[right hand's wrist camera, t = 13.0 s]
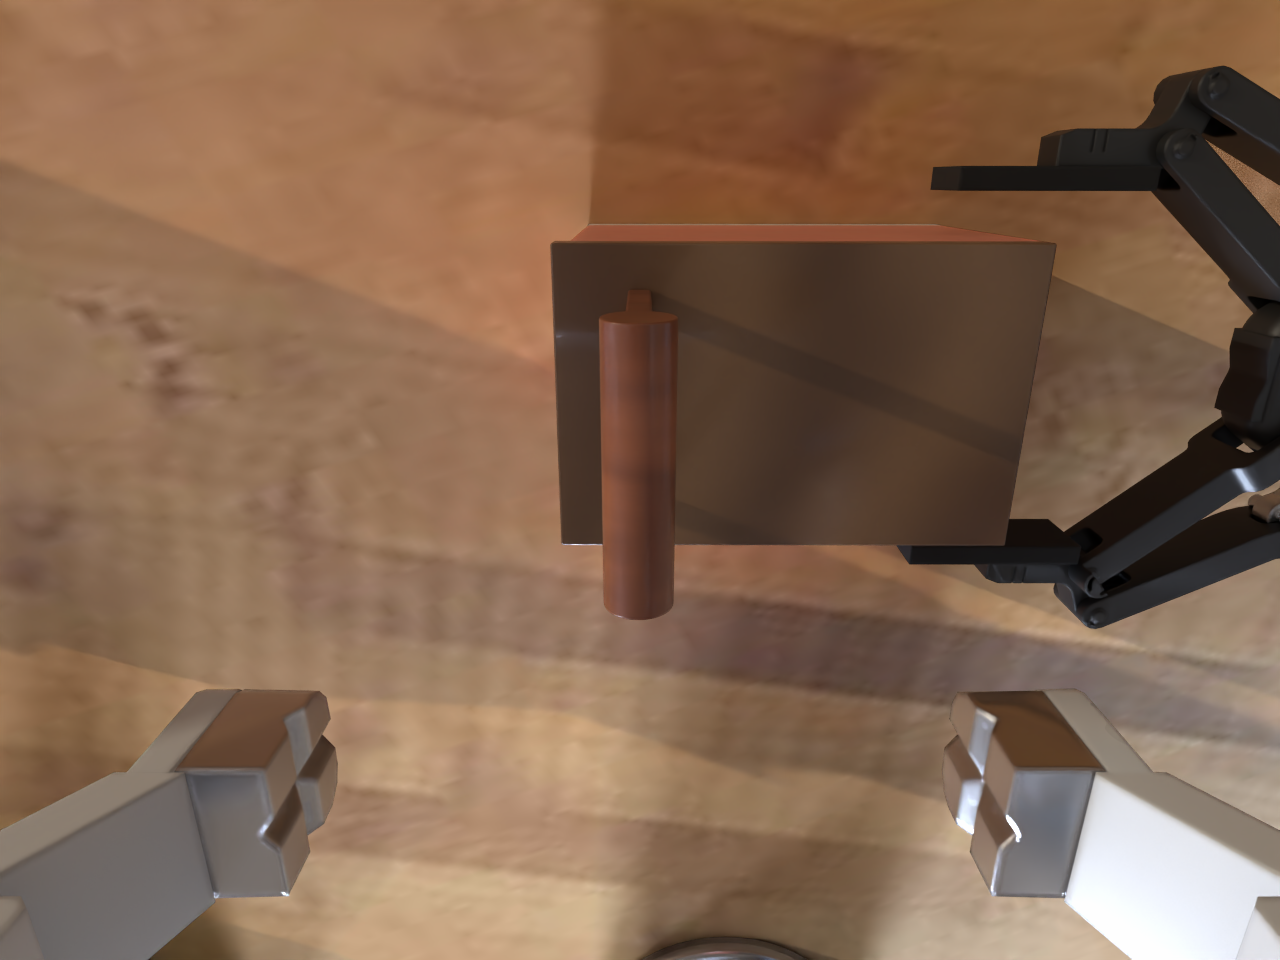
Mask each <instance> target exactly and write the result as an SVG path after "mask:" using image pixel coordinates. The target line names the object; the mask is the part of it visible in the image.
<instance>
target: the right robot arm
mask: <svg viewBox="0 0 1280 960" xmlns="http://www.w3.org/2000/svg"><path fill="white" fill-rule="evenodd" d="M330 719H331V718H330V713H329V708H328V703H327V698H326V696H324V695H323V694H322V693H321V692H320V691H298V690H251V689H245V690H240V689H206V690H203V691H200V692H197V693H195V694H194V696H193V697H192V698H191V699H190V700H189V701H188V702H187V704H186V705H185V706H184V707H183V708H182V709H181V710H180V712H179V713H178V714H177V715H176V716H175V717H174V718H173V720H172V721H171V722H170V723H169V724H168V725H167V726H166V728H165V729H164V730H163V731H162V732H161V733H160V734H159V736H158V737H157V738H156V739H155V740H154V741H153V742H152V744H151V745H150V746H149V747H148V748H147V749H146V750H145V752H144V753H143V754H142V755H141V756H140V757H139V758H138V760H137V761H136V762H135V763H134V764H133V765H132V766H131V768H130V769H129V770H128V771H127V772H113V773H112V774H110V775H108V776H106V777H104V778H102V779H100V780H98V781H96V782H94V783H92V784H90V785H88V786H86V787H84V788H82V789H80V790H78V791H76V792H74V793H72V794H70V795H68V796H67V797H65V798H63V799H61V800H59V801H57V802H55V803H53V804H51V805H49V806H47V807H45V808H43V809H41V810H39V811H37V812H35V813H33V814H31V815H29V816H27V817H25V818H24V819H22V820H20V821H18V822H16V823H14V824H12V825H10V826H8V827H6V828H4V829H2V830H0V960H148V959H149V958H150V957H152V956H153V955H154V954H155V953H156V952H157V951H159V950H160V949H161V948H162V947H163V946H164V945H166V944H167V943H168V942H169V941H170V940H172V939H173V938H174V937H175V936H176V935H177V934H179V933H180V932H181V931H182V930H183V929H184V928H186V927H187V926H188V925H189V924H190V923H192V922H193V921H194V920H195V919H196V918H197V917H199V916H200V915H201V914H202V913H203V912H204V911H206V910H207V909H208V908H209V907H210V906H211V905H213V904H214V903H215V898H238V897H272V896H288V895H289V893H290V891H291V889H292V887H293V885H294V883H295V881H296V879H297V877H298V875H299V873H300V871H301V869H302V867H303V865H304V863H305V861H306V859H307V857H308V855H309V853H310V847H309V842H308V836H307V835H309V834H310V833H312V832H313V831H314V830H316V829H317V828H319V827H320V826H321V825H323V824H324V822H325V820H326V818H327V816H328V814H329V812H330V809H331V807H332V805H333V800H334V796H335V791H336V787H337V776H338V763H337V756H336V749H335V747H334V746H333V745H332V744H331V743H330V742H329V741H328V740H327V739H326V738H325V737H324V736H323V735H322V734H323V732H324V730H325V728H326V726H327V725H328V723H329V721H330ZM949 719H950V721H951V723H952V725H953V726H954V728H955V730H956V732H957V734H958V735H957V736H956V737H955V738H954V739H953V740H952V741H951V742H950V743H949V744H948V745H947V746H946V747H945V749H944V757H943V765H942V775H943V786H944V793H945V797H946V800H947V804H948V807H949V810H950V812H951V814H952V816H953V818H954V820H955V822H956V824H957V825H959V826H960V827H961V828H963V829H964V830H966V831H967V832H968V833H970V834H971V835H973V836H972V842H971V847H970V853H971V855H972V857H973V859H974V861H975V863H976V865H977V867H978V869H979V871H980V873H981V875H982V877H983V879H984V881H985V883H986V885H987V887H988V889H989V891H990V893H991V895H992V896H1006V897H1041V898H1065V901H1064V902H1065V903H1067V904H1068V905H1069V906H1070V907H1071V908H1072V909H1074V910H1075V911H1076V912H1077V913H1078V914H1079V915H1081V916H1082V917H1083V918H1084V919H1085V920H1087V921H1088V922H1089V923H1090V924H1091V925H1092V926H1094V927H1095V928H1096V929H1097V930H1098V931H1099V932H1101V933H1102V934H1103V935H1104V936H1105V937H1106V938H1108V939H1109V940H1110V941H1111V942H1112V943H1113V944H1115V945H1116V946H1117V947H1118V948H1119V949H1121V950H1122V951H1123V952H1124V953H1125V954H1126V955H1128V956H1129V957H1130V958H1131V959H1132V960H1280V830H1278V829H1276V828H1274V827H1272V826H1270V825H1268V824H1266V823H1264V822H1262V821H1260V820H1258V819H1256V818H1254V817H1252V816H1250V815H1248V814H1247V813H1245V812H1243V811H1241V810H1239V809H1237V808H1235V807H1233V806H1231V805H1229V804H1227V803H1225V802H1223V801H1221V800H1219V799H1217V798H1215V797H1213V796H1211V795H1209V794H1208V793H1206V792H1204V791H1202V790H1200V789H1198V788H1196V787H1194V786H1192V785H1190V784H1188V783H1186V782H1184V781H1182V780H1180V779H1178V778H1176V777H1174V776H1172V775H1170V774H1169V773H1167V772H1153V771H1152V770H1151V769H1150V768H1149V766H1148V765H1147V764H1146V763H1145V762H1144V761H1143V760H1142V758H1141V757H1140V756H1139V755H1138V754H1137V753H1136V752H1135V750H1134V749H1133V748H1132V747H1131V746H1130V745H1129V744H1128V742H1127V741H1126V740H1125V739H1124V738H1123V737H1122V736H1121V734H1120V733H1119V732H1118V731H1117V730H1116V729H1115V728H1114V726H1113V725H1112V724H1111V723H1110V722H1109V721H1108V720H1107V718H1106V717H1105V716H1104V715H1103V714H1102V713H1101V712H1100V710H1099V709H1098V708H1097V707H1096V706H1095V705H1094V704H1093V702H1092V701H1091V700H1090V699H1089V698H1088V697H1087V696H1086V694H1084V693H1083V692H1081V691H1079V690H1077V689H1050V690H1035V691H990V692H957V694H956V696H955V698H954V700H953V702H952V706H951V712H950V718H949Z"/></svg>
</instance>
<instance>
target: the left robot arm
mask: <svg viewBox="0 0 1280 960" xmlns="http://www.w3.org/2000/svg"><path fill="white" fill-rule="evenodd" d="M1153 101H1154V104H1155V106H1154V108H1153V109H1152V111H1151V113H1150V115H1149V116H1148V118H1147V119H1146V121H1145V122H1144V123H1143V124H1142V125H1140V126H1139V127H1137V128H1135V129H1070V130H1061V131H1056V132H1053V133H1051V134H1048V135H1046V136H1043V137H1041V143H1040V149H1039V156H1038V162H1037V166H951V167H933V173H932V182H931V190H956V191H1151V192H1152V193H1153V194H1154V195H1155V196H1156V197H1157V198H1158V200H1159V201H1160V202H1161V203H1162V204H1163V205H1164V206H1165V207H1166V208H1167V209H1168V211H1169V212H1170V213H1171V214H1172V215H1173V216H1174V217H1175V218H1176V219H1177V221H1178V222H1179V223H1180V224H1181V225H1182V226H1183V227H1184V228H1185V229H1186V231H1187V232H1188V233H1189V234H1190V235H1191V236H1192V237H1193V238H1194V239H1195V241H1196V242H1197V243H1198V244H1199V245H1200V246H1201V247H1202V248H1203V249H1204V251H1205V252H1206V253H1207V254H1208V255H1209V256H1210V257H1211V258H1212V259H1213V261H1214V262H1215V263H1216V264H1217V265H1218V266H1219V267H1220V268H1221V269H1222V270H1223V272H1224V273H1225V274H1226V275H1227V276H1228V277H1229V279H1230V281H1229V282H1228V285H1229V286H1230V288H1231V289H1232V290H1233V291H1234V292H1235V293H1236V294H1237V296H1238V297H1239V298H1240V299H1241V300H1242V301H1243V302H1244V303H1245V304H1246V306H1247V307H1248V308H1249V309H1250V310H1251V311H1252V312H1253V313H1254V314H1253V315H1251V317H1250V318H1249V319H1248V320H1247V321H1246V323H1245V324H1244V326H1243V328H1235V329H1234V333H1233V337H1232V341H1231V345H1230V369H1229V371H1228V373H1227V375H1226V377H1225V379H1224V381H1223V382H1222V384H1221V386H1220V388H1219V391H1218V395H1217V399H1216V403H1215V407H1214V408H1217V409H1219V410H1221V414H1222V417H1221V418H1220V419H1218V420H1217V421H1215V422H1214V423H1212V424H1211V425H1209V426H1208V427H1206V428H1205V429H1203V430H1202V431H1200V432H1199V433H1197V434H1196V435H1194V436H1193V437H1192V438H1191V439H1190V440H1189V442H1188V448H1187V450H1185V451H1184V452H1183V453H1181V454H1180V455H1178V456H1177V457H1175V458H1174V459H1172V460H1171V461H1169V462H1168V463H1166V464H1165V465H1163V466H1162V467H1160V468H1159V469H1157V470H1156V471H1154V472H1153V473H1151V474H1150V475H1148V476H1147V477H1145V478H1144V479H1142V480H1141V481H1139V482H1138V483H1136V484H1135V485H1133V486H1132V487H1130V488H1129V489H1127V490H1126V491H1124V492H1123V493H1121V494H1120V495H1118V496H1117V497H1115V498H1114V499H1112V500H1111V501H1109V502H1108V503H1106V504H1105V505H1104V506H1102V507H1101V508H1099V509H1098V510H1096V511H1095V512H1093V513H1092V514H1090V515H1089V516H1087V517H1086V518H1084V519H1083V520H1081V521H1080V522H1078V523H1077V524H1075V525H1074V526H1072V527H1071V528H1069V529H1068V530H1066V531H1065V532H1063V531H1062V530H1060V529H1059V528H1058V527H1057V526H1056V525H1054V524H1053V523H1052V522H1051V521H1050V520H1048V519H1009V522H1008V528H1007V534H1006V540H1005V545H896V546H897V547H898V549H899V550H900V551H901V553H902V554H903V556H904V557H905V559H906V560H907V561H908V563H909V564H974V565H975V566H976V567H977V569H978V570H979V571H980V572H981V573H982V574H983V576H984V577H985V578H986V579H989V580H991V581H994V582H996V583H1055V585H1054V594H1055V595H1056V597H1057V598H1058V599H1059V600H1060V601H1061V602H1062V603H1063V604H1064V605H1065V606H1066V607H1067V608H1068V609H1069V610H1070V611H1071V612H1072V613H1073V614H1074V615H1075V616H1076V617H1077V618H1078V619H1079V620H1080V621H1081V622H1082V623H1083V624H1084V625H1085V626H1087V627H1089V628H1093V629H1097V628H1102V627H1104V626H1107V625H1109V624H1112V623H1114V622H1117V621H1119V620H1122V619H1124V618H1127V617H1129V616H1132V615H1134V614H1137V613H1140V612H1142V611H1145V610H1147V609H1150V608H1152V607H1155V606H1157V605H1160V604H1162V603H1165V602H1167V601H1170V600H1172V599H1175V598H1178V597H1180V596H1183V595H1185V594H1188V593H1190V592H1193V591H1195V590H1198V589H1200V588H1203V587H1205V586H1208V585H1210V584H1213V583H1215V582H1218V581H1221V580H1223V579H1226V578H1228V577H1231V576H1233V575H1236V574H1238V573H1241V572H1243V571H1246V570H1248V569H1251V568H1253V567H1256V566H1259V565H1261V564H1264V563H1266V562H1269V561H1271V560H1274V559H1278V558H1280V488H1279V489H1278V490H1276V491H1275V492H1273V493H1270V494H1267V495H1264V496H1261V495H1259V494H1256V495H1253V496H1251V497H1250V499H1249V500H1248V505H1249V506H1243V507H1237V508H1233V509H1229V510H1226V511H1223V512H1220V513H1217V514H1214V515H1212V516H1209V517H1207V518H1205V519H1203V518H1204V517H1206V516H1207V515H1209V514H1210V513H1212V512H1213V511H1215V510H1216V509H1218V508H1220V507H1221V506H1223V505H1224V504H1226V503H1227V502H1229V501H1230V500H1232V499H1234V498H1235V497H1237V496H1238V495H1240V494H1242V493H1245V492H1257V491H1261V490H1264V489H1266V488H1268V487H1269V486H1271V485H1272V484H1274V483H1276V482H1277V481H1279V480H1280V226H1279V225H1278V224H1277V223H1276V221H1275V220H1274V219H1273V218H1272V217H1271V216H1270V214H1269V213H1268V212H1267V211H1266V210H1265V209H1264V207H1263V206H1262V205H1261V204H1260V203H1259V202H1258V201H1257V199H1256V198H1255V197H1254V196H1253V195H1252V194H1251V192H1250V191H1249V190H1248V189H1247V188H1246V187H1245V185H1244V184H1243V183H1242V182H1241V181H1240V180H1239V178H1238V177H1237V176H1236V175H1235V174H1234V173H1233V172H1232V170H1231V169H1230V168H1229V167H1228V166H1227V165H1226V163H1225V162H1224V161H1223V160H1222V159H1221V158H1220V156H1219V155H1218V154H1217V153H1216V152H1215V151H1214V149H1213V148H1212V147H1211V146H1210V145H1209V144H1208V143H1207V141H1209V142H1210V143H1212V144H1213V145H1215V146H1217V147H1218V148H1220V149H1221V150H1223V151H1225V152H1226V153H1228V154H1230V155H1231V156H1233V157H1234V158H1236V159H1238V160H1239V161H1241V162H1242V163H1244V164H1246V165H1247V166H1249V167H1251V168H1252V169H1254V170H1255V171H1257V172H1259V173H1260V174H1262V175H1264V176H1265V177H1267V178H1268V179H1270V180H1272V181H1273V182H1275V183H1276V184H1278V185H1280V99H1279V98H1277V97H1275V96H1274V95H1272V94H1271V93H1269V92H1268V91H1266V90H1264V89H1263V88H1261V87H1260V86H1258V85H1257V84H1255V83H1254V82H1252V81H1250V80H1249V79H1247V78H1246V77H1244V76H1243V75H1241V74H1239V73H1238V72H1236V71H1235V70H1233V69H1232V68H1229V67H1226V66H1218V67H1213V68H1207V69H1202V70H1197V71H1192V72H1187V73H1182V74H1177V75H1172V76H1168V77H1167V78H1165V79H1163V80H1162V81H1161V82H1160V83H1159V84H1158V85H1157V88H1156V90H1155V92H1154V99H1153ZM1206 140H1207V141H1206ZM1243 443H1245V444H1246V445H1247V446H1248V447H1249V448H1250V449H1252V450H1253V451H1254V452H1251V453H1246V452H1243V451H1241V450H1239V449H1236V448H1237V447H1238V446H1240V445H1241V444H1243ZM1201 519H1202V520H1201ZM1199 520H1200V521H1199ZM642 960H806V959H805V958H803V957H802V956H800V955H798V954H796V953H794V952H792V951H790V950H788V949H786V948H783V947H780V946H778V945H775V944H771V943H768V942H764V941H759V940H754V939H747V938H738V937H713V938H703V939H697V940H691V941H687V942H683V943H679V944H675V945H672V946H670V947H667V948H664V949H662V950H659V951H657V952H655V953H653V954H651V955H649V956H647V957H645V958H644V959H642Z"/></svg>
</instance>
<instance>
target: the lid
mask: <svg viewBox="0 0 1280 960" xmlns="http://www.w3.org/2000/svg"><path fill="white" fill-rule="evenodd" d="M550 246H551V274H552V301H553V328H554V355H555V382H556V410H557V437H558V464H559V491H560V518H561V543H562V545H603V583H604V605H605V607H606V609H607V610H608V611H609V612H610V613H612V614H613V615H616V616H618V617H621V618H625V619H631V620H646V619H652V618H656V617H659V616H662V615H664V614H666V613H667V612H668V611H669V610H670V609H671V608H672V606H673V602H674V546H675V545H1005V540H1006V534H1007V528H1008V522H1009V517H1010V511H1011V505H1012V499H1013V494H1014V488H1015V482H1016V476H1017V470H1018V465H1019V459H1020V453H1021V447H1022V442H1023V436H1024V430H1025V424H1026V419H1027V413H1028V407H1029V401H1030V396H1031V390H1032V384H1033V378H1034V373H1035V367H1036V361H1037V355H1038V349H1039V344H1040V338H1041V332H1042V326H1043V321H1044V315H1045V309H1046V303H1047V298H1048V292H1049V286H1050V280H1051V275H1052V269H1053V263H1054V257H1055V252H1056V246H1057V245H1056V244H1055V243H1050V242H1043V241H554V242H553V243H551V245H550Z"/></svg>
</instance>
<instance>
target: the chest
mask: <svg viewBox="0 0 1280 960" xmlns="http://www.w3.org/2000/svg"><path fill="white" fill-rule="evenodd" d="M571 241H1037V240H1031V239H1024V238H1018V237H1011V236H1005V235H999V234H992V233H986V232H979V231H973V230H966V229H960V228H953V227H947V226H941V225H937V224H588V226H587V227H586V228H585V229H584V230H582V231H581V232H580V233H579V234H578V235H577V236H576V237H574V238H573V239H572V240H571Z"/></svg>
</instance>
